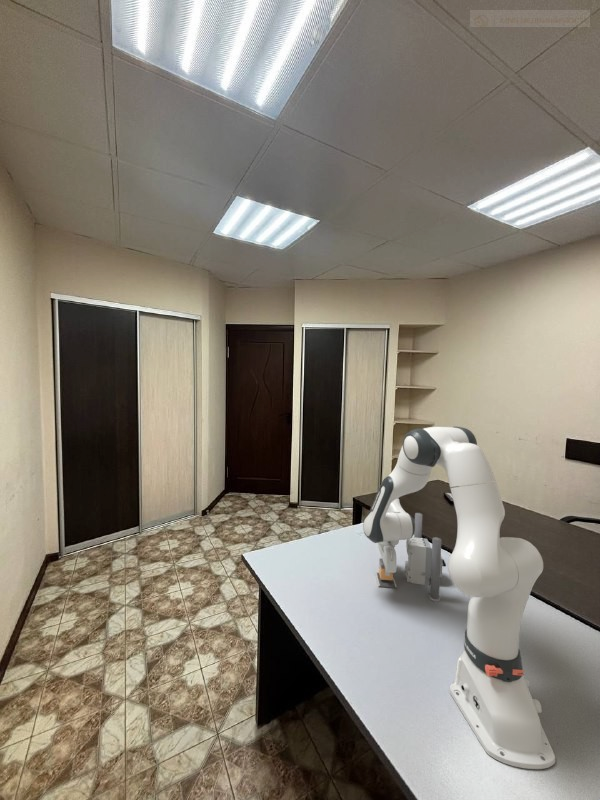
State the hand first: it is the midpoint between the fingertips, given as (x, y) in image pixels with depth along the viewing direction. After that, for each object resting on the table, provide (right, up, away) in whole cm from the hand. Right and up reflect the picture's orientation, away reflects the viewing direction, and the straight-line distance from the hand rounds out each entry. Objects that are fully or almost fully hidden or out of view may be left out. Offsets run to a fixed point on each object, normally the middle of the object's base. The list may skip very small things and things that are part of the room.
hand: (385, 570), depth 127 cm
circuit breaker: (+16, -5, +2) cm, 17 cm away
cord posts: (+16, -5, +2) cm, 17 cm away
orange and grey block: (0, -2, 0) cm, 2 cm away
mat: (0, -4, 0) cm, 4 cm away
